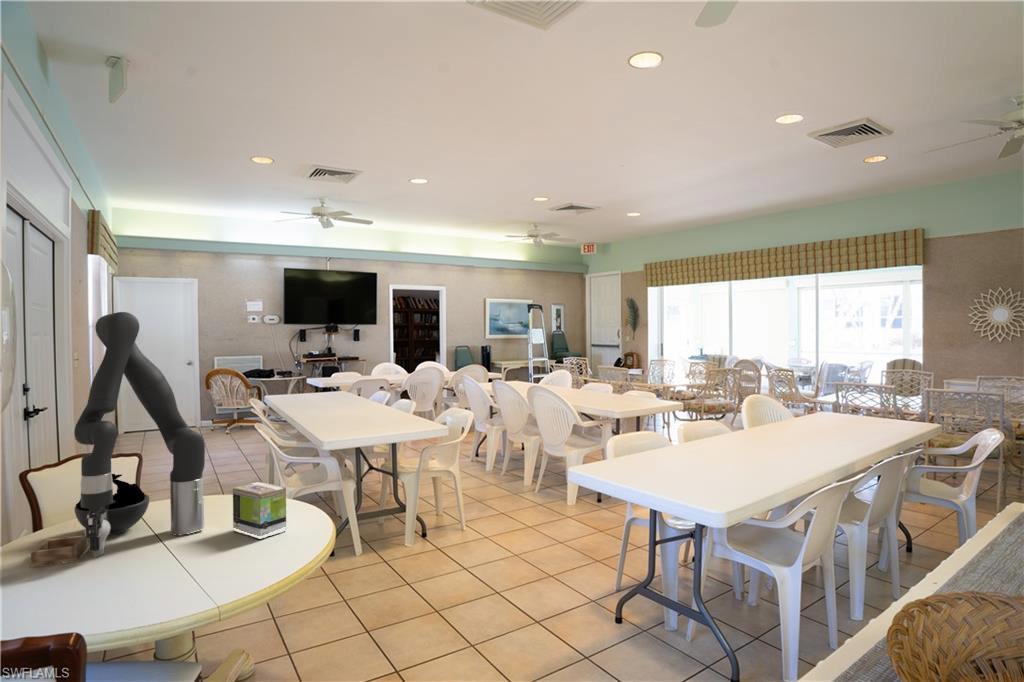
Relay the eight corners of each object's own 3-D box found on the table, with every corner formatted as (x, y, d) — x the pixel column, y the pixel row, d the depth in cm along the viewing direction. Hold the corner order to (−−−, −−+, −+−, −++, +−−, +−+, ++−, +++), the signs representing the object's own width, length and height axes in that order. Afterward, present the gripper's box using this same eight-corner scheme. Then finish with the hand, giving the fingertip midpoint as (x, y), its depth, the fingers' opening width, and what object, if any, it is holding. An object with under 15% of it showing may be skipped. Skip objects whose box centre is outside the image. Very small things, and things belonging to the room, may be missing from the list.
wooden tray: (89, 547, 172) (88, 534, 172) (77, 561, 162) (77, 547, 162) (44, 553, 168) (44, 539, 168) (29, 567, 158) (29, 553, 158)
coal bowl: (89, 525, 192) (88, 470, 191) (157, 519, 198) (156, 465, 198) (63, 547, 173) (62, 485, 172) (139, 539, 179) (138, 480, 179)
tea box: (287, 531, 186) (287, 486, 186) (259, 541, 177) (259, 494, 177) (259, 523, 194) (259, 480, 194) (231, 532, 186) (231, 487, 185)
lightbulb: (116, 554, 167) (115, 517, 167) (94, 562, 162) (94, 523, 161) (101, 551, 169) (100, 514, 169) (79, 559, 164) (79, 521, 163)
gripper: (105, 494, 160) (106, 553, 160) (118, 481, 173) (119, 536, 173) (73, 497, 157) (74, 557, 157) (88, 484, 170) (89, 540, 170)
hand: (97, 546), depth 165 cm, fingers closed on lightbulb, 5 cm apart
